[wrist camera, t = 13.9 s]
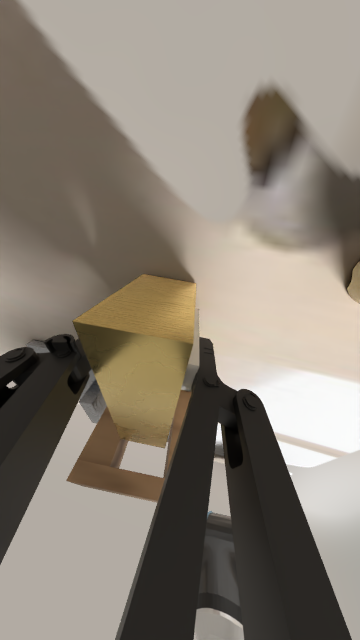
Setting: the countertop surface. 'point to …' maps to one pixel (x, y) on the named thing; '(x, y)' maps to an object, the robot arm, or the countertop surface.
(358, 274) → the flower pot
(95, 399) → the cradle
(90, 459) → the brown wooden block
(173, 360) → the bar
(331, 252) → the countertop surface
